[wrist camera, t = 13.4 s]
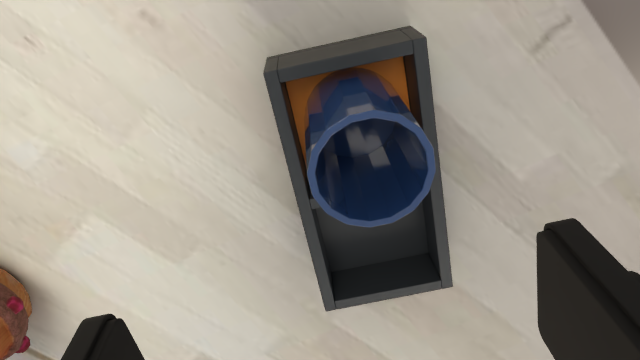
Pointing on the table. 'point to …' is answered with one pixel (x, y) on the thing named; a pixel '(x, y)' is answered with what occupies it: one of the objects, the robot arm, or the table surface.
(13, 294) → the mug
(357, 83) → the cup
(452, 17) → the table surface
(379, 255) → the holder
